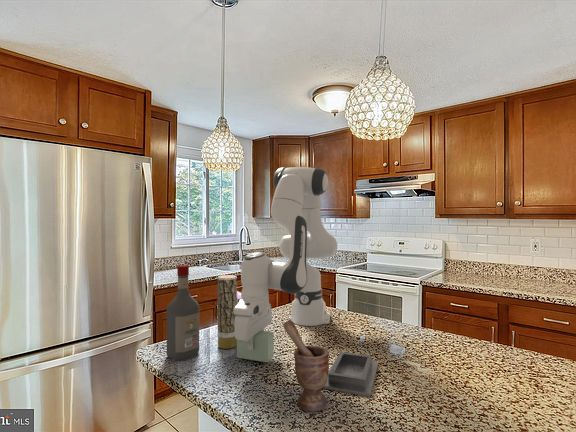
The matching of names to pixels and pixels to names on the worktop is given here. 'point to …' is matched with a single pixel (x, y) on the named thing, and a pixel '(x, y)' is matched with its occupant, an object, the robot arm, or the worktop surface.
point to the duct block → (258, 347)
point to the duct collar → (352, 374)
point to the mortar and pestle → (309, 371)
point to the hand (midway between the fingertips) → (255, 345)
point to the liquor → (182, 321)
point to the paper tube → (227, 311)
